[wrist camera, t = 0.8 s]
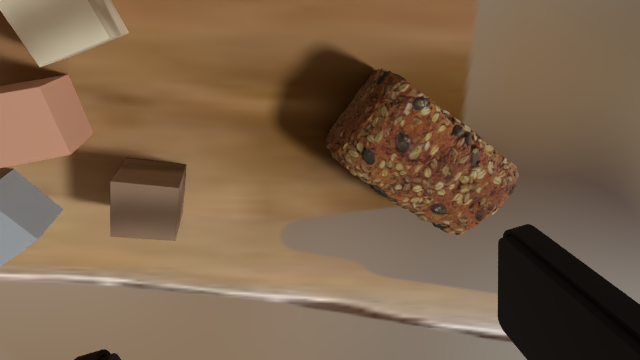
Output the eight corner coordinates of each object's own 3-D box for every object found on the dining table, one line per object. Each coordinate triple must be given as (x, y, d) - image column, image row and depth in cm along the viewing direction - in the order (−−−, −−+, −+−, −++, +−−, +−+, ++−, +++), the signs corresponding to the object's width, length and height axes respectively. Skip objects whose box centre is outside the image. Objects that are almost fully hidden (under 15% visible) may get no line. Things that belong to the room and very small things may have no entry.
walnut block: (127, 157, 41) (110, 181, 36) (186, 164, 42) (178, 188, 37) (126, 207, 43) (110, 236, 38) (182, 211, 45) (175, 240, 39)
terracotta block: (1, 85, 36) (-41, 100, 31) (68, 74, 37) (39, 86, 31) (31, 145, 39) (-2, 168, 33) (93, 133, 39) (70, 154, 34)
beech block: (25, -11, 33) (-16, -13, 28) (90, -37, 33) (61, -44, 28) (69, 57, 36) (39, 67, 31) (129, 32, 36) (110, 38, 31)
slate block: (-30, 201, 40) (-71, 232, 35) (14, 168, 39) (-21, 195, 34) (21, 239, 43) (-10, 273, 37) (63, 208, 42) (37, 239, 37)
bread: (483, 147, 49) (537, 180, 40) (427, 211, 51) (467, 255, 42) (374, 58, 42) (411, 75, 33) (316, 138, 44) (335, 173, 35)
